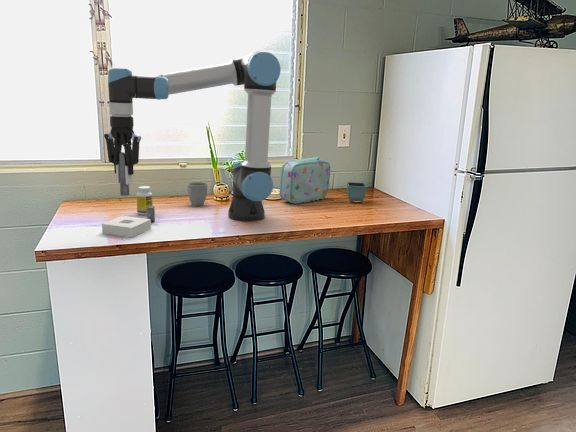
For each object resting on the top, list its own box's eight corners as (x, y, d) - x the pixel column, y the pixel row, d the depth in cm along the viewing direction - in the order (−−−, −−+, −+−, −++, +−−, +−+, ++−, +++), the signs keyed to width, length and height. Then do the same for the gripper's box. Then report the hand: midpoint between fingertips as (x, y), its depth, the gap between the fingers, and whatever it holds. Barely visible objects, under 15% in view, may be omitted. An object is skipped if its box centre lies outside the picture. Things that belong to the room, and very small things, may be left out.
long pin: (131, 194, 168) (129, 152, 164) (126, 196, 165) (124, 153, 162) (123, 193, 169) (122, 151, 165) (118, 195, 166) (116, 152, 162)
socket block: (151, 228, 175) (150, 219, 174) (132, 237, 164) (131, 227, 163) (123, 224, 178) (122, 215, 177) (102, 233, 167) (101, 223, 166)
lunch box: (315, 195, 242) (318, 154, 236) (330, 199, 234) (333, 156, 229) (276, 202, 224) (278, 157, 219) (291, 206, 217) (293, 160, 211)
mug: (210, 206, 211) (210, 185, 209) (191, 207, 207) (190, 186, 205) (201, 200, 221) (201, 180, 219) (183, 201, 217) (182, 181, 215)
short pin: (156, 221, 184) (155, 206, 183) (152, 223, 182) (151, 208, 180) (149, 220, 185) (149, 205, 184) (145, 222, 182) (144, 207, 181)
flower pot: (365, 204, 227) (367, 186, 225) (347, 203, 227) (348, 185, 225) (363, 200, 235) (364, 182, 233) (345, 199, 235) (346, 182, 233)
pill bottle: (148, 215, 192) (147, 189, 189) (134, 214, 193) (133, 187, 190) (155, 212, 197) (154, 186, 195) (141, 210, 199) (140, 185, 196)
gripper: (148, 116, 161) (150, 183, 168) (108, 113, 166) (111, 179, 172) (135, 117, 154) (138, 187, 161) (94, 114, 159) (98, 182, 165)
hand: (124, 183), depth 166 cm, fingers closed on long pin, 3 cm apart
